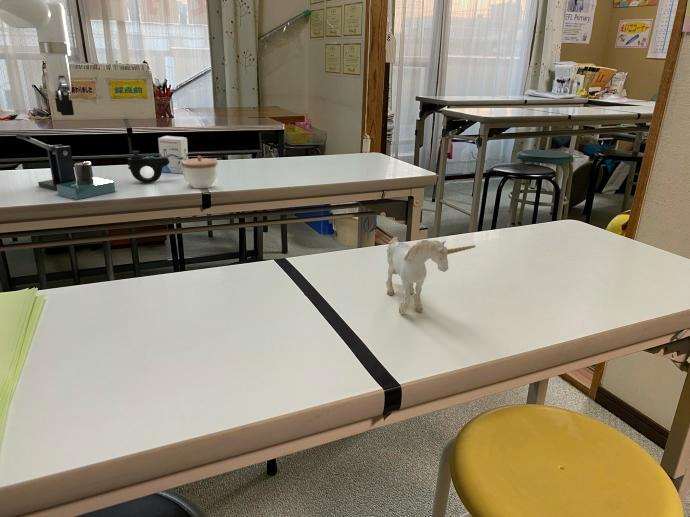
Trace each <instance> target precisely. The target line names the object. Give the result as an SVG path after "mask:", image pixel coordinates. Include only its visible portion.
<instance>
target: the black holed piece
mask: <svg viewBox="0 0 690 517" xmlns="http://www.w3.org/2000/svg"><path fill="white" fill-rule="evenodd" d="M132 153H133V155H131V156H130V157H128V158H127V161H128V163H127V166H128V167H127V168H128V170H130V173H131V175H132V177H133V178H134V179H135V180H137V181H138V182H140V183H144V184H152V183H155V182H156V181H158V180H159V179H160V178H161V176H162V173H163V172H162V168H163V167H164V166H166V165H168V164H169V162H170V161H169V159H168V157H160V156H152V155H151V156H149V155H145V156H142V155H140V150H132ZM144 167H149V168H151V169H152V171H153V174H152V175H151V176H150V177H145V176H143V175H142V174H141V171H142V169H144Z"/></svg>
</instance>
